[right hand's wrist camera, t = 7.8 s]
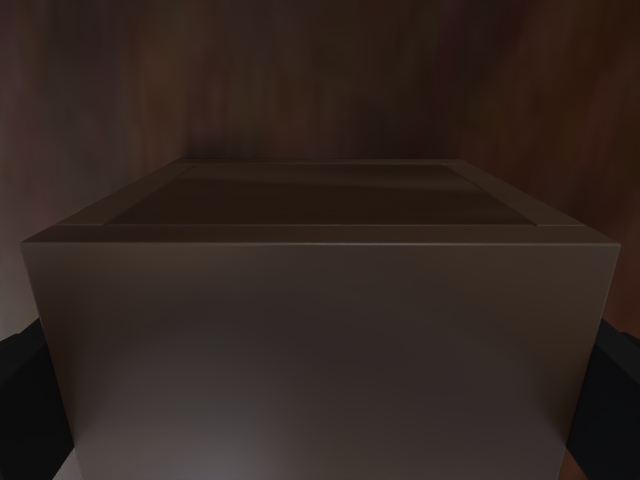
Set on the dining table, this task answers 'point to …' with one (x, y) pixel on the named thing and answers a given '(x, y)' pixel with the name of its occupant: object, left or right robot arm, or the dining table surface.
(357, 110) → the dining table surface
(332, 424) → the cabinet
